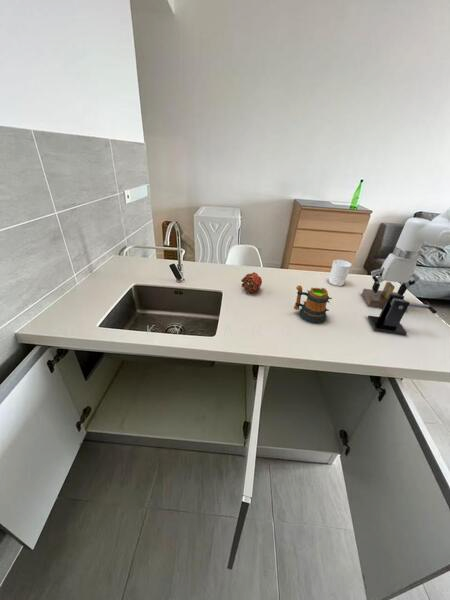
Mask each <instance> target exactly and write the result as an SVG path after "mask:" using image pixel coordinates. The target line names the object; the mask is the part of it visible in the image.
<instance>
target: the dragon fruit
mask: <svg viewBox="0 0 450 600" xmlns="http://www.w3.org/2000/svg"><path fill="white" fill-rule="evenodd" d="M240 281H241V282H242V283H241V288H244V289H245V291H247V292H249V293H255V292H256V291H260V290H261V286H262V283H263V280H262V277H261V276H259V274H258V273H257V272H252V273H247V274H245V275H244V276H243V278H241V280H240Z"/></svg>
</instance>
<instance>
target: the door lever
mask: <svg viewBox="0 0 450 600" xmlns="http://www.w3.org/2000/svg"><path fill="white" fill-rule="evenodd" d="M394 300H400V301H403V300H402V299H399V298H393V299H392V301H391V303H390V304H391V305H392V303H393V301H394ZM409 303H410V304H409V306H408V308H418V309H426V310H428V311H430V312H431V313H432V314H433V315H435V314H437V312H438V311H437V310H436V309H435V308H434V307H433V306H432V305H431V304H430V303H429V302H428V301H427V300H424V301H423V303H416V302H409Z"/></svg>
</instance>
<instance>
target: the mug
mask: <svg viewBox="0 0 450 600" xmlns="http://www.w3.org/2000/svg"><path fill="white" fill-rule="evenodd" d="M295 288H296V290H297V292H296V293H297V296H296V302H295V304H294V305H293V309H294V310H296V311H298V310H299V309H300V310H299V313H298V314H299V317H300V318H301V319H302V321H305V322H307V323H310V324H316V325H317V324H318V325H319V324H323V323H325V322H326V320H327V312H329V311H330V309H327V304H328V303H329V304H330V301H329V300H332V299H333V297H330V296H329V293H328V290H327V288H324V287H310V290H306V291H303V287H302V285H296V287H295ZM302 296H306V299H305V300H303V301H302V302H303V303H301V299H302ZM300 307H301V308H300Z"/></svg>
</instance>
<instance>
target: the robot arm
mask: <svg viewBox="0 0 450 600" xmlns="http://www.w3.org/2000/svg"><path fill="white" fill-rule="evenodd" d="M424 243H426V244H430V245H433V246H435V247H448V246H450V207H448V208H447V209H445V210H444V211H442V212H441V213H440V214H438V215H437V216H435V217H434V218H433V219H431V220H430V219H426V218H421V217H409V218H408V219H407V220H406V221H405V224H404V225H403V228H402V230H401V233H400V235H399V238H398V239H397V242H396V244H395V247H394V248H393V251H392V253H389V254H388V255H387V257H386V258H385V259H384V261H383V264H381V265H382V266H381V267H380V268H377V269H374V270H371V272H370V274H371V278H372V280H373V281H374V282H373V285H372V286H371V290H373V291H374V293H377V291H378V290H379V289H380V285H381V283H382V282H385V281H386V282H391V283H401V284H400V286H399V288H398V289H397V292H396V293H398V294H399V295H402V296H404V294H405V293H406V292H407V289H408V288H410V287H411V286H413V285H415V284H416V282H418V281H419V280H420V279H421V277H420V276H418V275H417V274H416V273H415V269H416V266H417V264H418V263H417V262H418V256H422V254H423V251H421V249H422V247H423V244H424ZM377 275H378V276H377Z"/></svg>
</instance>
